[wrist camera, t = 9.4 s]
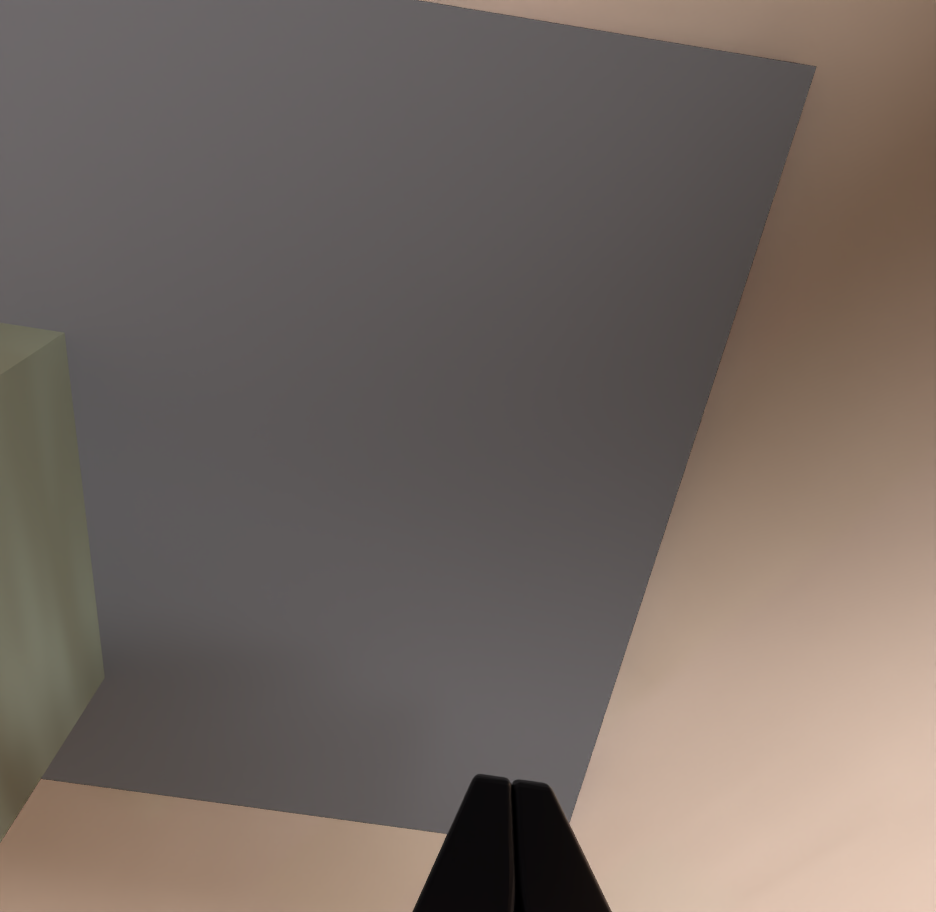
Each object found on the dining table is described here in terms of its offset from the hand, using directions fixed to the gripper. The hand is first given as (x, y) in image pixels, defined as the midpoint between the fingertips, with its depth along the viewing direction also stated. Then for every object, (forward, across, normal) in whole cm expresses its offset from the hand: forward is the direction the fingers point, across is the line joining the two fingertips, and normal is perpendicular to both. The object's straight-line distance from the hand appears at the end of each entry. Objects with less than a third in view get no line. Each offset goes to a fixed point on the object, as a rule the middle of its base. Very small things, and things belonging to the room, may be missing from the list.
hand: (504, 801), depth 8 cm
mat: (+4, +6, -1) cm, 7 cm away
